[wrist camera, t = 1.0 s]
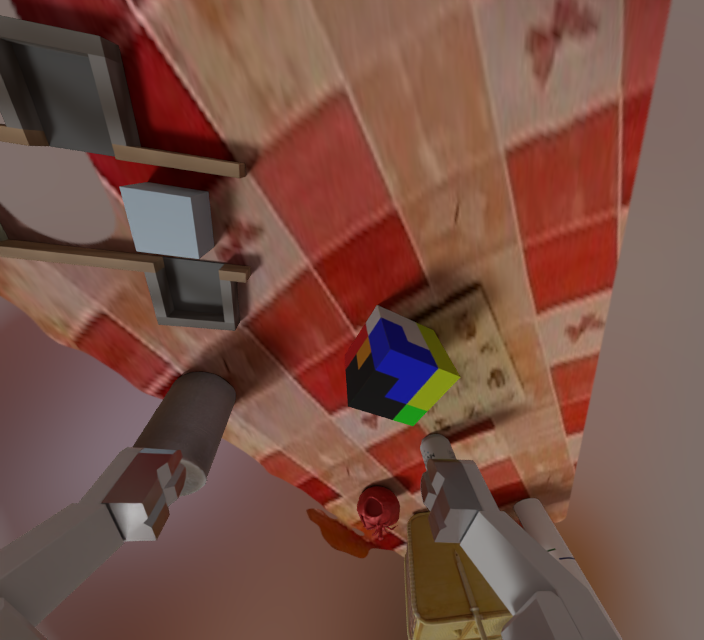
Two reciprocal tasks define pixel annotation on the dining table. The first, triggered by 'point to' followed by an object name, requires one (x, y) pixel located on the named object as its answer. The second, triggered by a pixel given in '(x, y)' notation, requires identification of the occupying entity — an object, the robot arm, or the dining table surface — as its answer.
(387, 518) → the pomegranate
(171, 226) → the block
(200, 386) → the pillar candle
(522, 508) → the cylindrical container
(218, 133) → the dining table surface
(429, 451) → the energy drink can
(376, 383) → the puzzle toy
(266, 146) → the dining table surface
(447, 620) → the picnic basket
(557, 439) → the dining table surface
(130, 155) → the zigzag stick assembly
